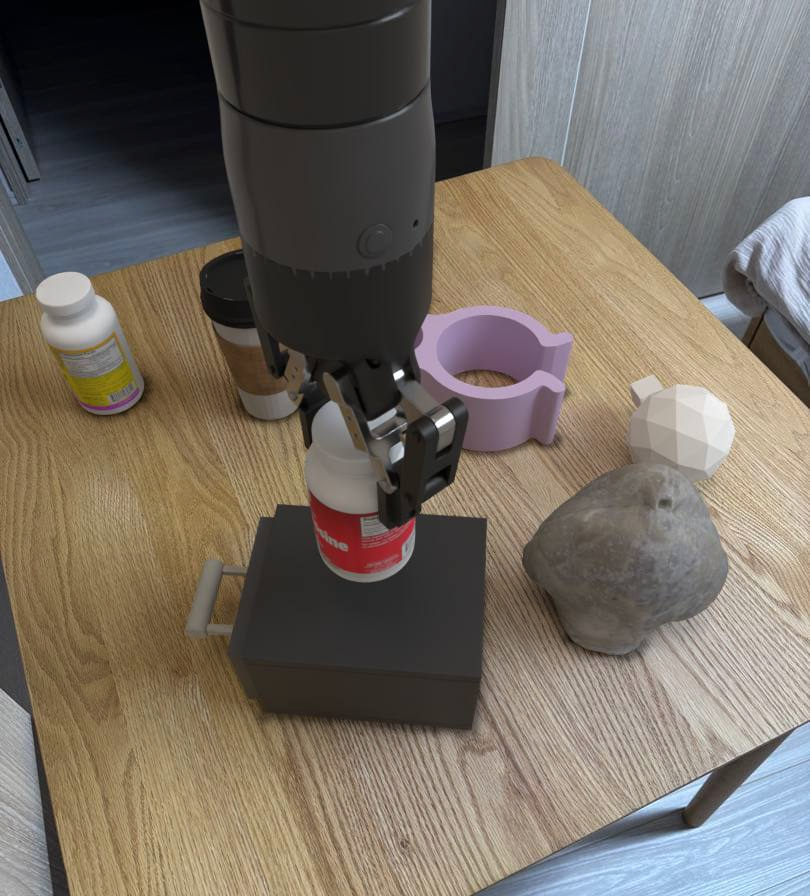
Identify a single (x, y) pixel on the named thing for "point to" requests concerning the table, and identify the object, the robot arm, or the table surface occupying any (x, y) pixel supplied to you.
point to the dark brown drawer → (207, 598)
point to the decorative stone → (628, 557)
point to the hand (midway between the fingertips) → (360, 479)
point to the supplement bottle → (88, 344)
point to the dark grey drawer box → (371, 628)
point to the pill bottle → (351, 503)
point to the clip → (504, 350)
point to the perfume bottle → (679, 428)
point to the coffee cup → (241, 337)
